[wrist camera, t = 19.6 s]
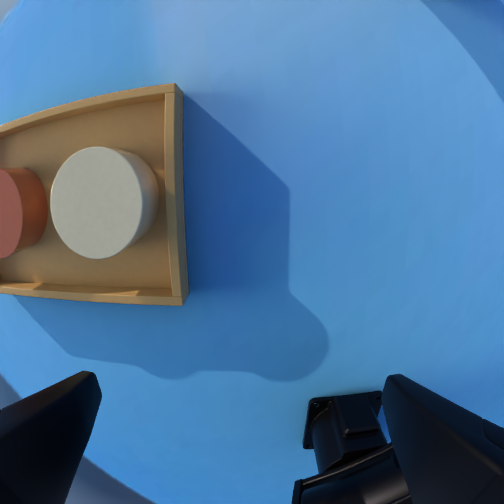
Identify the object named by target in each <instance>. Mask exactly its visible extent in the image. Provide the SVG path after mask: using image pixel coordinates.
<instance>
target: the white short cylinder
mask: <svg viewBox="0 0 504 504" xmlns="http://www.w3.org/2000/svg"><path fill="white" fill-rule="evenodd" d="M159 197H160V196H159V188H158V183H157V180H156V178H155V175H154V173H153V171H152V170H151V168H150V167H149V165H148V164H147V163H146V162H145V161H144V160H143V159H142V158H141V157H139V156H138V155H136V154H134V153H132V152H130V151H126V150H121V149H114V148H108V147H99V146H95V147H88V148H85V149H82V150H80V151H78V152H76V153H75V154H73V155H72V156H71V157H69V158H68V159H67V160H66V161H65V162H64V164H63V165H62V166H61V168H60V169H59V171H58V173H57V175H56V177H55V179H54V182H53V186H52V190H51V198H50V208H51V215H52V219H53V223H54V226H55V228H56V230H57V232H58V234H59V236H60V237H61V239H62V240H63V241H64V243H65V244H66V245H67V246H68V247H69V248H70V249H71V250H73V251H74V252H76V253H77V254H79V255H81V256H84V257H86V258H91V259H105V258H110V257H112V256H115V255H117V254H118V253H120V252H122V251H123V250H125V249H126V248H128V247H130V246H131V245H133V244H135V243H136V242H138V241H139V240H141V239H142V238H143V237H144V236H145V235H146V234H147V233H148V232H149V230H150V229H151V227H152V226H153V224H154V222H155V219H156V217H157V213H158V209H159Z"/></svg>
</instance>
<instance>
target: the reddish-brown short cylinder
mask: <svg viewBox="0 0 504 504" xmlns="http://www.w3.org/2000/svg"><path fill="white" fill-rule="evenodd" d="M47 217H48V204H47V197H46V193H45V189H44V187H43V184H42V182H41V180H40V179H39V177H38V176H37V175H36V174H35V173H34V172H33V171H32V170H30V169H28V168H25V167H9V168H0V259H3V258H7V257H9V256H11V255H14V254H16V253H19V252H21V251H23V250H26V249H28V248H31V247H32V246H34V245H35V244H36V243H37V242H38V241H39V240H40V238H41V237H42V235H43V233H44V230H45V227H46V223H47Z"/></svg>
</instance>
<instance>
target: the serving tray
mask: <svg viewBox="0 0 504 504" xmlns="http://www.w3.org/2000/svg"><path fill="white" fill-rule="evenodd" d="M95 146H99V147H108V148H114V149H121V150H126V151H130V152H132V153H134V154H136V155H138V156H139V157H141V158H142V159H143V160H144V161H145V162H146V163H147V164H148V165H149V167H150V168H151V170H152V171H153V173H154V175H155V178H156V180H157V183H158V188H159V196H160V197H159V209H158V213H157V217H156V219H155V222H154V224H153V226H152V227H151V229H150V230H149V232H148V233H147V234H146V235H145V236H144V237H143V238H142V239H141V240H139V241H138V242H136V243H135V244H133V245H131V246H130V247H128V248H126V249H125V250H123V251H122V252H120V253H118V254H117V255H115V256H112V257H110V258H105V259H91V258H86V257H84V256H81V255H79V254H77V253H76V252H74V251H73V250H71V249H70V248H69V247H68V246H67V245H66V244H65V243H64V241H63V240H62V239H61V237H60V236H59V234H58V232H57V230H56V228H55V226H54V223H53V219H52V215H51V208H50V198H51V190H52V186H53V182H54V179H55V177H56V175H57V173H58V171H59V169H60V168H61V166H62V165H63V164H64V162H65V161H66V160H67V159H68V158H69V157H71V156H72V155H73V154H75V153H76V152H78V151H80V150H82V149H85V148H88V147H95ZM9 167H25V168H28V169H30V170H32V171H33V172H34V173H35V174H36V175H37V176H38V177H39V179H40V180H41V182H42V184H43V187H44V189H45V193H46V197H47V204H48V217H47V223H46V227H45V230H44V233H43V235H42V237H41V238H40V240H39V241H38V242H37V243H36V244H35V245H34V246H32V247H31V248H28V249H26V250H23V251H21V252H19V253H16V254H14V255H11V256H9V257H7V258H3V259H0V293H4V294H13V295H22V296H31V297H41V298H52V299H64V300H76V301H90V302H105V303H122V304H143V305H169V306H183V304H184V302H185V301H186V299H187V297H188V295H189V282H188V269H187V254H186V237H185V216H184V187H183V91H182V90H181V89H180V88H179V87H178V86H177V85H176V83H172V84H164V85H156V86H149V87H142V88H136V89H130V90H125V91H119V92H114V93H109V94H104V95H100V96H95V97H91V98H87V99H83V100H79V101H75V102H71V103H67V104H64V105H60V106H57V107H53V108H50V109H47V110H43V111H40V112H37V113H34V114H31V115H28V116H25V117H22V118H19V119H17V120H14V121H11V122H9V123H6V124H3V125H1V126H0V168H9Z"/></svg>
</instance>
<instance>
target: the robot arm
mask: <svg viewBox="0 0 504 504" xmlns="http://www.w3.org/2000/svg"><path fill="white" fill-rule="evenodd" d="M378 396H379V397H378ZM101 399H102V393H101V389H100V386H99V383H98V380H97V377H96V375H95V374H94V373H93V372H89V371H81V372H79V373H77V374H75V375H73V376H71V377H69V378H66V379H64V380H62V381H60V382H58V383H56V384H54V385H52V386H50V387H48V388H46V389H43V390H41V391H39V392H37V393H35V394H33V395H31V396H29V397H26V398H24V399H22V400H20V401H18V402H16V403H14V404H11V405H9V406H7V407H5V408H3V409H2V410H0V504H65V501H66V498H67V495H68V492H69V489H70V487H71V484H72V482H73V479H74V476H75V474H76V471H77V468H78V466H79V463H80V460H81V458H82V456H83V453H84V451H85V448H86V446H87V443H88V441H89V438H90V436H91V432H92V429H93V426H94V422H95V419H96V415H97V412H98V409H99V405H100V402H101ZM314 403H317V404H314ZM381 405H382V406H383V410H384V414H385V418H386V422H387V426H388V430H389V435H390V438H391V442H390V443H387V441H386V439H385V436H384V434H383V432H382V429H381V427H380V424H379V421H378V419H377V417H378V414H379V411H380V408H381ZM303 448H304V449H314V451H315V456H316V461H317V467H318V472H319V474H317V475H315V476H312V477H309V478H306V479H300V480H297V481H295V484H294V490H293V497H292V504H504V428H502V427H500V426H498V425H496V424H494V423H492V422H490V421H488V420H486V419H482V417H480V416H478V415H476V414H474V413H472V412H470V411H468V410H466V409H464V408H463V407H461V406H459V405H457V404H455V403H453V402H451V401H449V400H447V399H446V398H444V397H442V396H440V395H438V394H436V393H434V392H433V391H431V390H429V389H427V388H425V387H423V386H422V385H420V384H418V383H416V382H414V381H412V380H411V379H409V378H407V377H405V376H403V375H401V374H395V375H389V376H388V377H387V379H386V382H385V386H384V389H383V392H382V391H374V392H367V393H359V394H351V395H342V396H331V397H319V398H313V399H311V400H310V401H309V404H308V411H307V418H306V425H305V432H304V438H303Z"/></svg>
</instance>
